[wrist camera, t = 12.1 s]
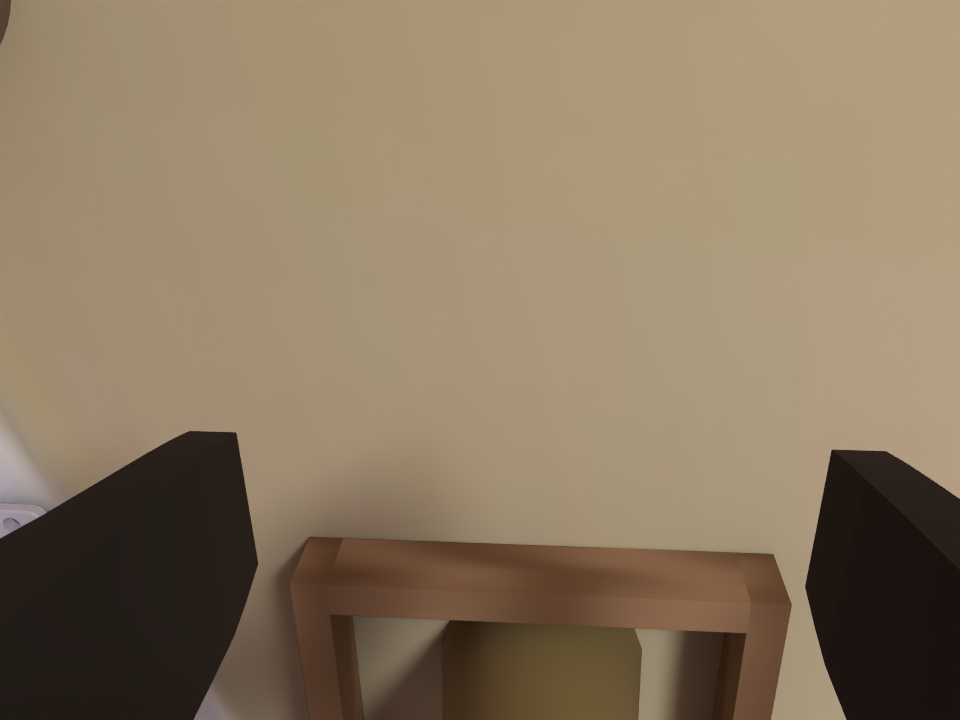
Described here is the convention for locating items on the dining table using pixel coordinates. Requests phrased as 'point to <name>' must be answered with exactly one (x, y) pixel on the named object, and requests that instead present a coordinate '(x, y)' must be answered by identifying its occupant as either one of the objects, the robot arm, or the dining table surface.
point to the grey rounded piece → (4, 16)
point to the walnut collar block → (538, 604)
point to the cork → (540, 672)
